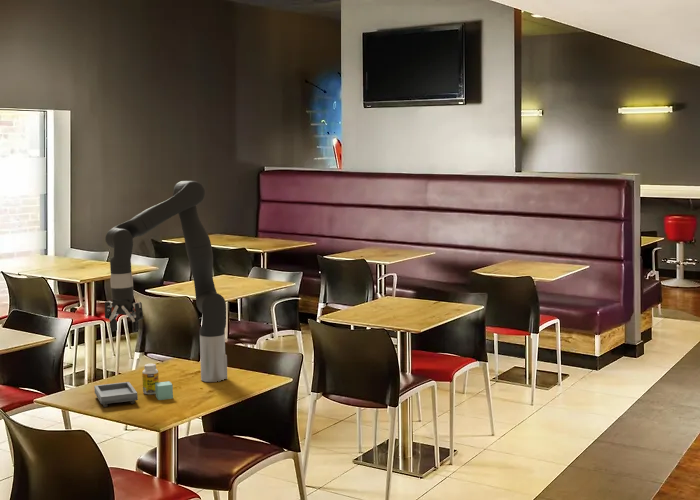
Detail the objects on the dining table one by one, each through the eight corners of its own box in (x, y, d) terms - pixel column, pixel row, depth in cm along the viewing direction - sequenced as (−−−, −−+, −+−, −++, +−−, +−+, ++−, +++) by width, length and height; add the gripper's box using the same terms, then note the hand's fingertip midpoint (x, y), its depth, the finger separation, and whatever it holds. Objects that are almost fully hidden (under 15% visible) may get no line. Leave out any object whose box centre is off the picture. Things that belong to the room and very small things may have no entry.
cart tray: (129, 392, 315) (128, 381, 314) (137, 404, 300) (137, 392, 300) (94, 396, 310) (94, 385, 310) (101, 408, 296) (101, 397, 295)
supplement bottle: (146, 395, 311) (145, 367, 310) (140, 392, 315) (139, 364, 314) (161, 393, 314) (160, 365, 313) (155, 389, 318) (154, 362, 317)
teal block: (169, 395, 312) (169, 381, 311) (173, 398, 307) (172, 384, 307) (155, 396, 310) (155, 382, 309) (158, 400, 305) (158, 386, 305)
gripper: (145, 284, 308) (148, 330, 310) (111, 283, 313) (114, 328, 315) (132, 288, 301) (135, 334, 303) (98, 286, 306) (101, 332, 308)
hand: (124, 331), depth 309 cm, fingers open, 8 cm apart
